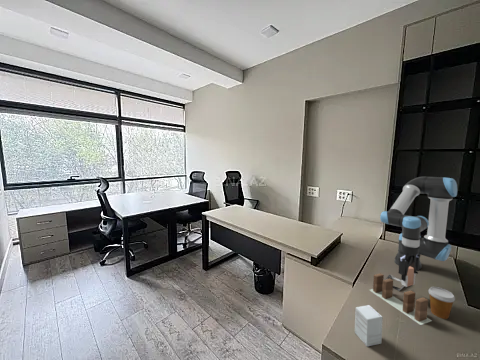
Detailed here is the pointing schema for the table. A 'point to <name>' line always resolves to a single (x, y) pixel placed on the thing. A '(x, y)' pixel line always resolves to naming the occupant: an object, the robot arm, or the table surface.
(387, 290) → the domino
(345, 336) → the table surface
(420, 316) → the domino
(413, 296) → the domino
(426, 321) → the runner
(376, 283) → the domino
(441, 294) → the disposable coffee cup
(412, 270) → the domino
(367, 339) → the supplement box
